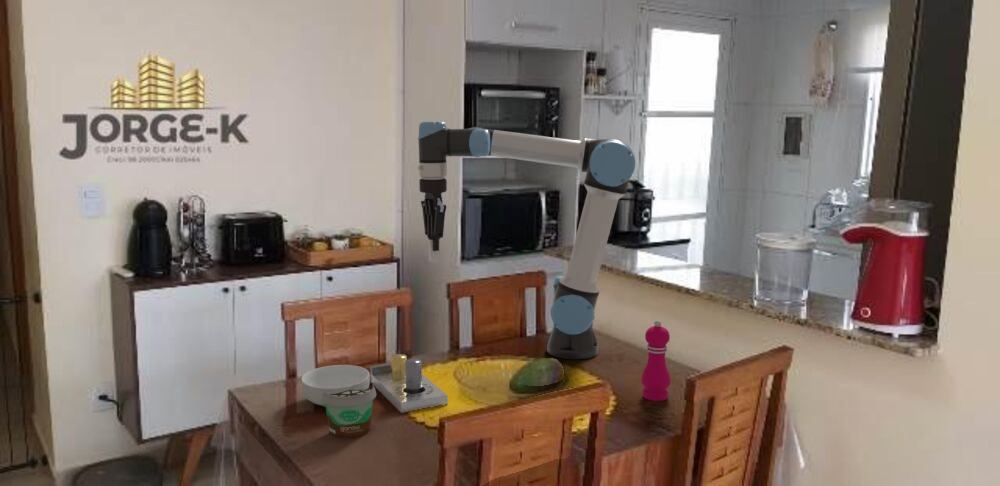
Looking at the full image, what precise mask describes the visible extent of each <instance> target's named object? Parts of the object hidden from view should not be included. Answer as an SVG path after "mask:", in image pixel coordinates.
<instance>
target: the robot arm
mask: <svg viewBox="0 0 1000 486" xmlns="http://www.w3.org/2000/svg"><path fill="white" fill-rule="evenodd" d="M417 140H418V164H419V165H418V167H417V169H418V170H419V171H418V172H419V177H420V179H419V180H418V181H419V182H418V183H419V192H420V193H423V194H424V200H421V201H420V204H421V209H422V217H423V219H422V220H423V226H424V228H423V229H424V234H425V236H426V237H427V241H428V262H429V263H439V262H441V260H440V259H441V257H440V256H441V255H440V252H441V251H440V250H441V249H440V246H441V245H440V240H441V239H442V238H443V237H444V228H445V217H446V211H447V205H446V204H443V196H442V194H443V193H446V192H447V185H448V183H447V182H448V181H447V178H446V177H447V176H448V175H447V174H448V172H447V171H448V169H447V168H448V166H447V165H448V164H447V162H448V161H447V157H463V158H464V157H465V158H466V157H469V158H470V157H473V158H480V157H487V156H488V157H489V156H491V157H496V158H505V159H511V160H513V159H514V160H520V161H527V162H534V163H541V164H548V165H556V166H557V165H558V166H564V167H571V168H577V169H578V171H579V172H582V173H586V175H585V178H584V182H583V186H584V187H585V189H586V191H587V193H586V196H585V200H584V203H583V204H584V205H583V208H582V212H581V216H580V219H579V223H578V228H577V231H576V235H575V239H574V243H573V247H572V250H571V255H570V258H569V263H568V266H567V269H566V273H565V275H560V276H556V277H555V278H554V282H553V298H552V299H553V300H552V304H551V309H550V317H551V320H552V322H553V326H552V329H551V332H550V336H549V338H548V341H547V345H546V346H547V354H549V355H550V356H553V357H556V358H559V359H565V360H585V359H586V360H587V359H590V358H594V357H596V356H597V355H598V354H599V343H598V340H597V337H596V334H595V329H594V327H593V324H594V320H595V310H596V306H597V302H598V299H599V294H600V291H601V289H600V287H599V285H598V283H597V282H598V277H599V273H600V269H601V265H602V262H603V258H604V255H605V251H606V247H607V243H608V240H609V236H610V232H611V229H612V225H613V222H614V221H613V220H614V217H615V213H616V211H617V206H618V204H619V202H618V201H619V200H620V199H621V198H623V197H624V196H626V195H627V190H628V187H629V184H630V179H631V177H632V176H633V174H634V172H635V168H636V158H635V154H634V152H633V150H632V149H631V147H630V146H629V145H628V144H626V143H625V142H623V141H622V140H620V139H617V138H603V139H602V138H601V139H600V138H599V139H598V138H586V137H585V138H583V139H582V140H577V139H575V140H574V139H567V138H560V137H550V136H545V135H537V134H529V133H521V132H515V131H514V132H512V131H507V130H506V131H504V130H497V129H490V128H489V129H488V128H483V127H480V126H473V127H472V126H471V127H470V128H447V123H446V122H445V121H422V122H420V123H419V126H418V138H417Z"/></svg>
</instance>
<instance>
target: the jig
mask: <svg viewBox="0 0 1000 486" xmlns="http://www.w3.org/2000/svg"><path fill="white" fill-rule="evenodd" d="M407 357H408V356H407V355H406V354H401V353H400V354H399V353H396V354H392V355H391V358H390V359H391V362H388V363H382V364H381V363H380V364H375V365H370V368H369V369H370V372H369V375H370V384H371V385H372V386H373V385H374V387H375V389H377V390H378V391H379V392H380V394H382V395H383V396H384V398H386V399H387V400H388V401H389V402H390V403H391V404H392V406H394V407H395V408H396V409H397V410H398V412H400V413H401V414H402V413H409V411H410V412H413V411H412V410H415V411H418V410H417V409H420V408H426V407H431V406H436V405H442V406H444V405H443V404H448V402H449V401H448V394H447V393H446V392H445V391H444V390H443V389H441V388H440V387H439V386H438V385H436V384H435V383H433V382H432V381H431V380H430V379H429V378H428V377H426V376H425V375H424V374H422V393H417V394H409V393H406V371H405V361H406V360H408V359H407ZM431 408H432V407H431ZM426 409H427V408H426ZM420 410H421V409H420Z"/></svg>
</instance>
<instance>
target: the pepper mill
mask: <svg viewBox="0 0 1000 486" xmlns="http://www.w3.org/2000/svg"><path fill="white" fill-rule="evenodd" d="M653 324H654V325H653V326H651V327H649V328H647V330H646V331H645V337H644V338H645V341H646V343H647V344H646V347H647V348H646V351H647V352H648V358H647V362H646V365H645V368H644V369H643V372H642V375H641V379H640V380H641V384H642V386H643V387H644V388H643V389H642V397H643V398H644V399H645V400H648V401H652V402H663V401H666V400H667V399H668V398H669V390H668V388H669V386H670V385H671V375H670V371H669V369H668V367H667V363H666V353H667V352H668V345H667V344H668V343H669V342H670V340H671V339H670V338H671V337H670V335H671V334H670V332H669V330H668V329H667V328H665V326H662V321H660V320H657V319H656V320H655V321H654V323H653Z"/></svg>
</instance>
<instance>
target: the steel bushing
mask: <svg viewBox="0 0 1000 486" xmlns="http://www.w3.org/2000/svg"><path fill="white" fill-rule="evenodd" d="M422 368H423V366H422V360H421V359H419V358H409V359H407V360H406V361H405V371H406V393H409V394H417V393H422V375H423V373H422V372H423V371H422Z"/></svg>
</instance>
